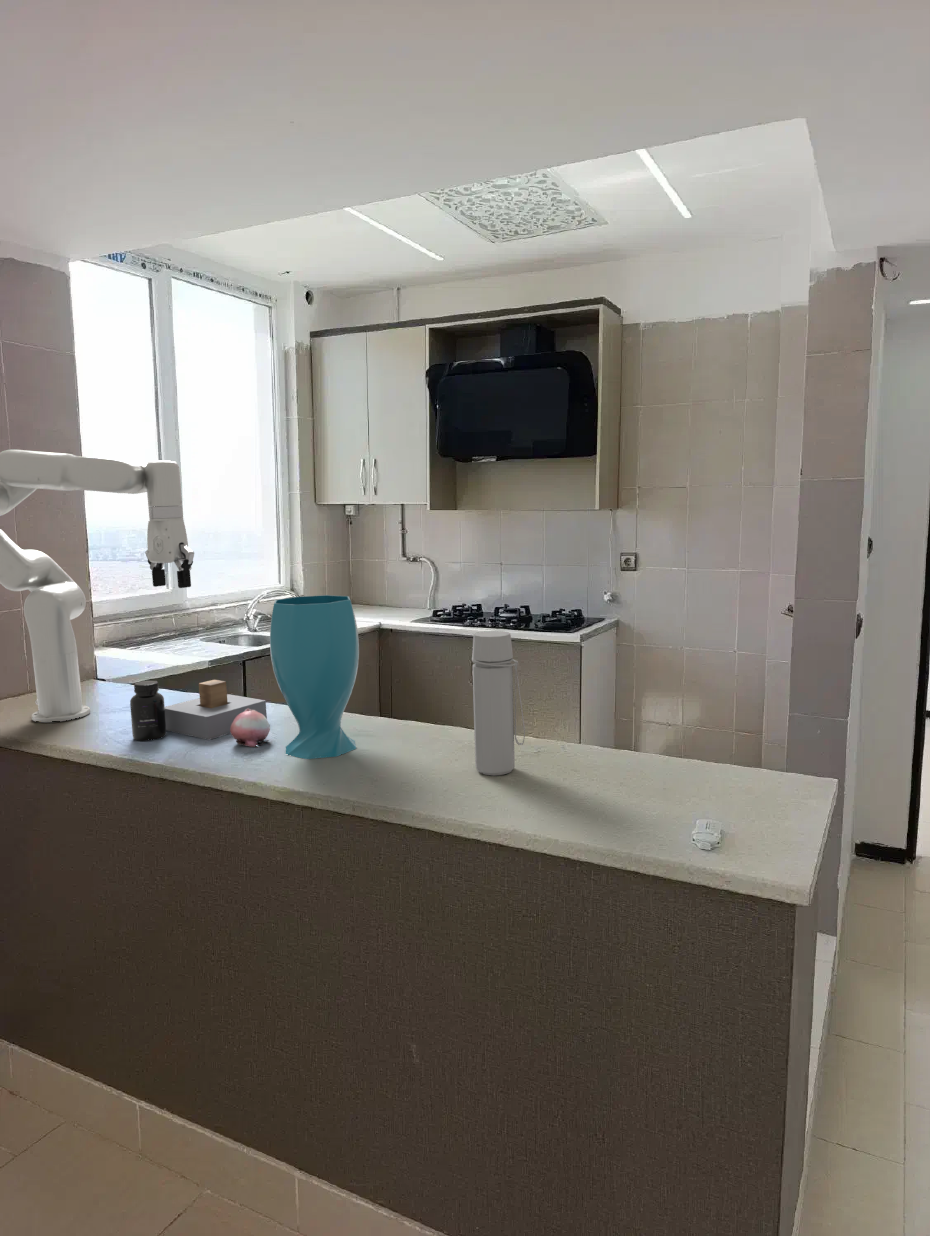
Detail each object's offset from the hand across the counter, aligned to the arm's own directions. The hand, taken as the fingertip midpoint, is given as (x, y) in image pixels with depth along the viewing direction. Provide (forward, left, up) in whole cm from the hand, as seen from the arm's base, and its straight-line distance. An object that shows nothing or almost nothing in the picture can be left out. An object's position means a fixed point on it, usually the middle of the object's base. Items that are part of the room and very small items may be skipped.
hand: (172, 586), depth 191 cm
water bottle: (+91, +1, -31) cm, 96 cm away
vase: (+52, -5, -31) cm, 60 cm away
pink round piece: (+37, -10, -31) cm, 49 cm away
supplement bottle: (+14, -18, -31) cm, 38 cm away
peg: (+19, -5, -30) cm, 36 cm away
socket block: (+19, -5, -30) cm, 36 cm away
